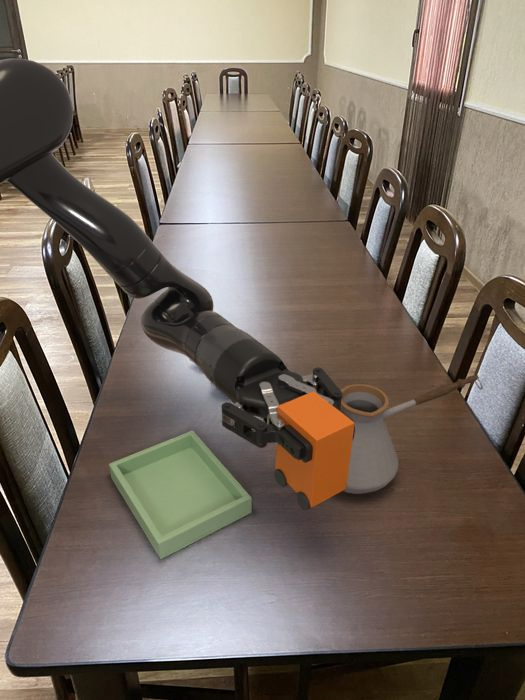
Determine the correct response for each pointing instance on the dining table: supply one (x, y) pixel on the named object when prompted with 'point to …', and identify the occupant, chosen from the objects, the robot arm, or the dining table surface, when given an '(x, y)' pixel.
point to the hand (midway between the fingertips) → (331, 444)
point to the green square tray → (179, 492)
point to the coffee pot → (378, 433)
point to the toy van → (315, 450)
